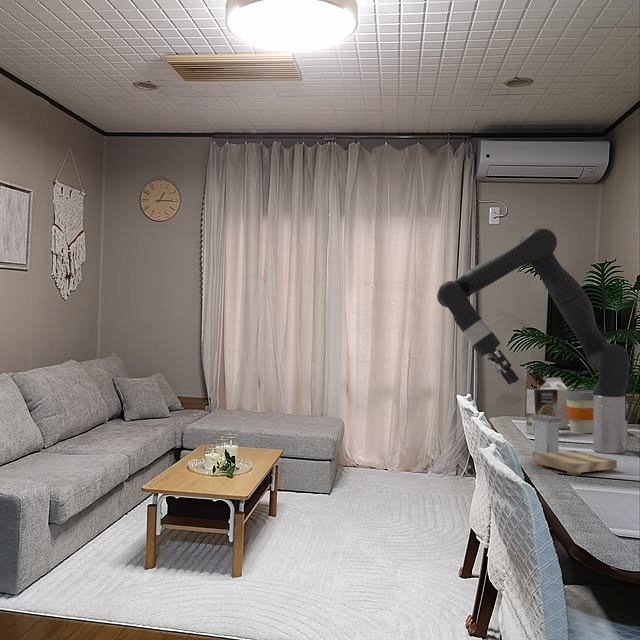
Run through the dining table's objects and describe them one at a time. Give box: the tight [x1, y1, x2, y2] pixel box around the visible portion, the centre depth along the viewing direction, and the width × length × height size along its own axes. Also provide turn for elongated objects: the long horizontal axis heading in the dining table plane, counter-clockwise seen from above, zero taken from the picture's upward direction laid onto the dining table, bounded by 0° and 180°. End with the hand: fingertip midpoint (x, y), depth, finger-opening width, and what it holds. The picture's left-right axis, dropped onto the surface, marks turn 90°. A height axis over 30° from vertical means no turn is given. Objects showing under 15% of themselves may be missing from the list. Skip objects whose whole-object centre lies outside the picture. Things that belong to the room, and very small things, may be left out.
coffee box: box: [525, 388, 558, 436], centre depth 247 cm, size 9×6×16 cm
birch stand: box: [533, 450, 618, 477], centre depth 187 cm, size 15×15×3 cm
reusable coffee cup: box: [566, 388, 593, 434], centre depth 251 cm, size 13×13×15 cm
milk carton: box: [539, 377, 569, 430], centre depth 261 cm, size 7×7×19 cm
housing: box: [531, 415, 561, 457], centre depth 202 cm, size 4×7×12 cm, turn 24°
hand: (514, 382), depth 204 cm, fingers open, 8 cm apart
